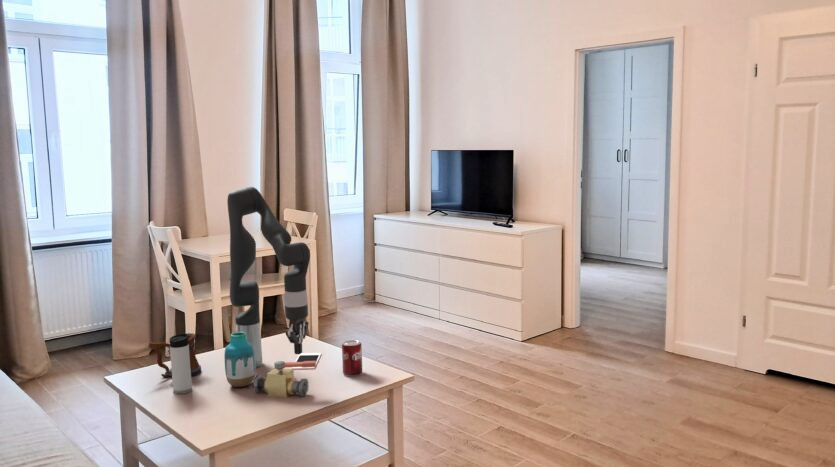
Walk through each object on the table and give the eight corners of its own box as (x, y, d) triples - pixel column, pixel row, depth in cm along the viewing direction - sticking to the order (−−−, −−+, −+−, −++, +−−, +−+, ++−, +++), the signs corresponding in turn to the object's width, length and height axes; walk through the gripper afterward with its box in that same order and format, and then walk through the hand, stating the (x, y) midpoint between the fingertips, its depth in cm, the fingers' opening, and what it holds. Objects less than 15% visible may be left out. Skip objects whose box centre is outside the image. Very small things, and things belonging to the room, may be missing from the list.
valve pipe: (253, 394, 229) (252, 369, 227) (262, 388, 234) (261, 363, 233) (301, 399, 224) (299, 373, 222) (308, 392, 229) (307, 367, 228)
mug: (154, 384, 240) (150, 344, 238) (149, 375, 250) (145, 337, 248) (204, 374, 249) (201, 336, 247) (197, 366, 259) (195, 329, 257)
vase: (240, 378, 245) (236, 328, 242) (262, 382, 240) (259, 331, 237) (219, 388, 235) (216, 336, 233) (243, 392, 231) (239, 339, 228)
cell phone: (321, 354, 271) (321, 352, 271) (314, 370, 253) (314, 367, 253) (300, 355, 271) (299, 353, 271) (291, 370, 253) (291, 368, 253)
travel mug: (196, 387, 236) (192, 333, 233) (184, 394, 230) (180, 339, 227) (181, 386, 238) (177, 332, 235) (169, 392, 232) (165, 337, 229)
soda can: (364, 370, 250) (363, 339, 249) (360, 377, 243) (359, 345, 241) (345, 370, 251) (344, 339, 249) (341, 377, 244) (339, 345, 242)
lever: (273, 369, 226) (273, 364, 226) (275, 365, 229) (275, 361, 229) (314, 367, 226) (314, 363, 226) (316, 364, 230) (315, 359, 230)
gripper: (297, 309, 211) (300, 361, 213) (314, 298, 223) (317, 347, 226) (276, 307, 213) (279, 359, 215) (294, 297, 225) (296, 346, 228)
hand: (298, 353), depth 221 cm, fingers closed
